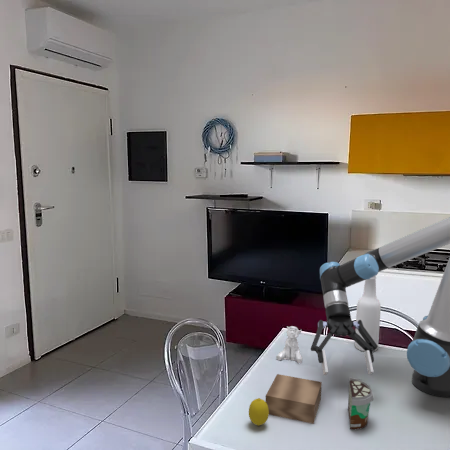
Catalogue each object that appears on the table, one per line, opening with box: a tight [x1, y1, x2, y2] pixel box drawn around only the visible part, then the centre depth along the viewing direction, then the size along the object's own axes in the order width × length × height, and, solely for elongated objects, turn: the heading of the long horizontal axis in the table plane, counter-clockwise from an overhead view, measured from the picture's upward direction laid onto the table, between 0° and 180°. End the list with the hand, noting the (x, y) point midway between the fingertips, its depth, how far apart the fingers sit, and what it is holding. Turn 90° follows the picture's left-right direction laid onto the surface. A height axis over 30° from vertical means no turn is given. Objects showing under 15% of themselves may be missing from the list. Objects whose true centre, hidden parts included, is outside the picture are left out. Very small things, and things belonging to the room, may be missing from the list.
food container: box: [347, 377, 374, 431], centre depth 128 cm, size 12×6×10 cm, turn 168°
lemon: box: [248, 397, 270, 426], centre depth 125 cm, size 6×6×8 cm
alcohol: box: [354, 275, 382, 353], centre depth 176 cm, size 9×9×30 cm
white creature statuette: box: [275, 325, 303, 365], centre depth 168 cm, size 10×9×12 cm
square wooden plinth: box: [265, 373, 323, 424], centre depth 136 cm, size 14×14×6 cm
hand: (348, 373), depth 135 cm, fingers open, 13 cm apart
